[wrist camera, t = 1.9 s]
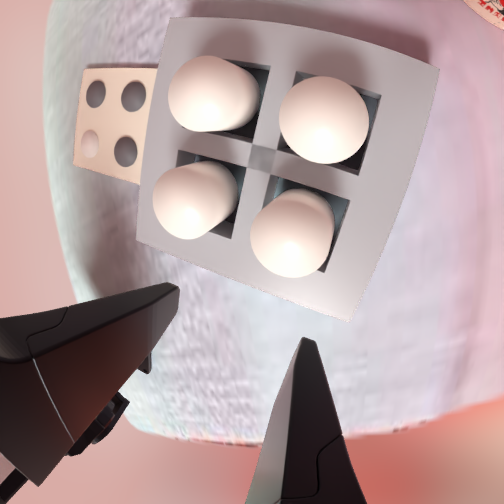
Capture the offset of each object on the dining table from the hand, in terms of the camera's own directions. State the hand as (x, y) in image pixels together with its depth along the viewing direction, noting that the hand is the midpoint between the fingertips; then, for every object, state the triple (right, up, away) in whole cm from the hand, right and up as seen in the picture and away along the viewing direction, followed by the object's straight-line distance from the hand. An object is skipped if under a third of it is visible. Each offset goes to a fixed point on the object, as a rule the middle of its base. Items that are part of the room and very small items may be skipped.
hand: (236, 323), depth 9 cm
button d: (-1, +11, +7) cm, 13 cm away
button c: (+5, +9, +6) cm, 12 cm away
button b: (-2, +6, +10) cm, 12 cm away
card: (-11, +13, +12) cm, 21 cm away
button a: (+3, +4, +9) cm, 10 cm away
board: (+2, +8, +10) cm, 13 cm away
